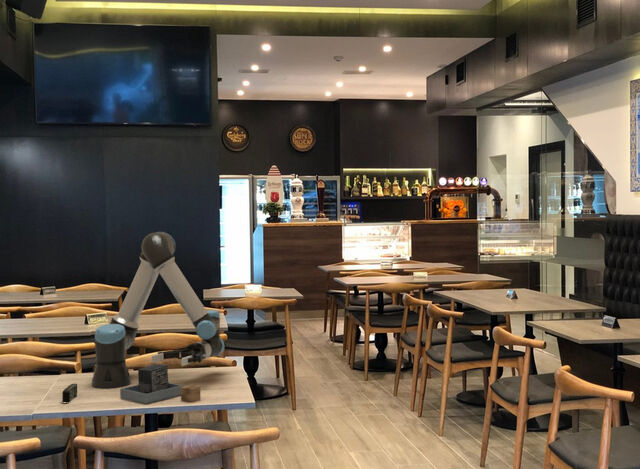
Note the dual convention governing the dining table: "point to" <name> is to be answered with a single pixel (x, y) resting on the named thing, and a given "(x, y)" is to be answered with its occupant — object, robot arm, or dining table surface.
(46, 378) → the dining table surface
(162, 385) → the small box
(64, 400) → the mobile phone
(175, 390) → the tray
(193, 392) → the walnut cube
